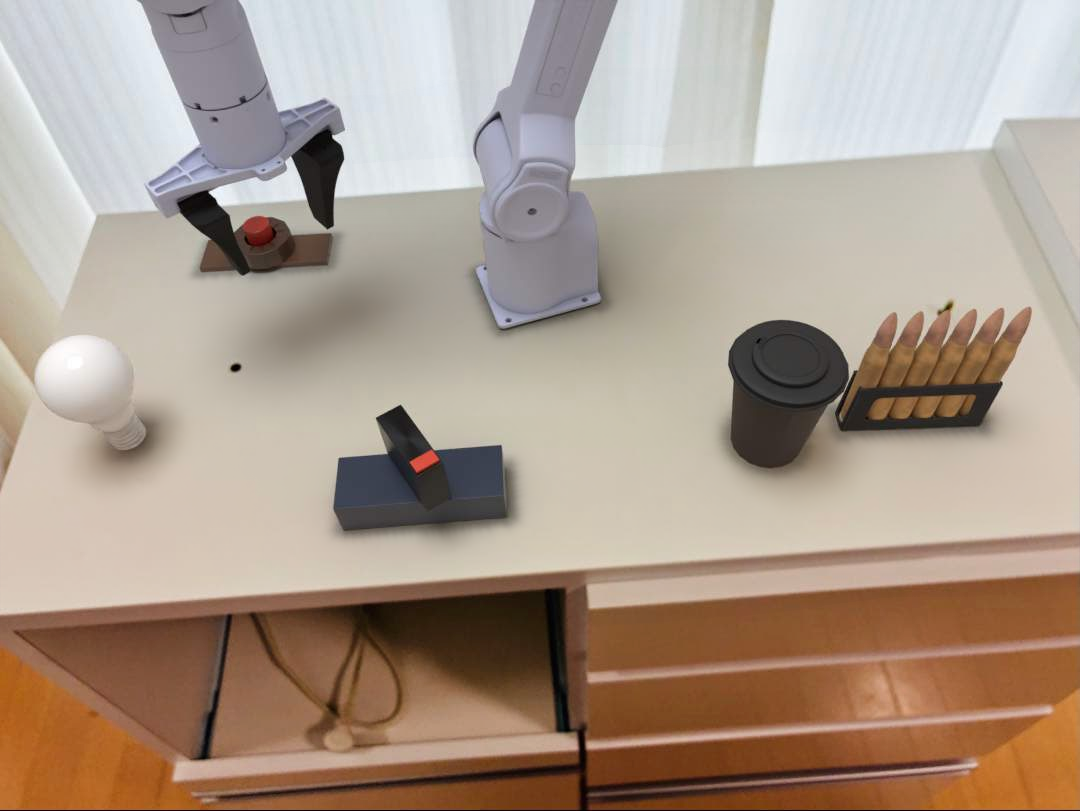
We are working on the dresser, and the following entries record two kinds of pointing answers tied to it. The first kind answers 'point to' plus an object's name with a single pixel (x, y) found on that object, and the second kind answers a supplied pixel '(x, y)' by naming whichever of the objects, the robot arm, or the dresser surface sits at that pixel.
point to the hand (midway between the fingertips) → (283, 244)
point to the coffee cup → (781, 388)
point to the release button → (258, 231)
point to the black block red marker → (414, 457)
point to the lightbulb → (91, 387)
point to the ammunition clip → (930, 373)
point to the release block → (272, 250)
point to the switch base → (387, 500)
